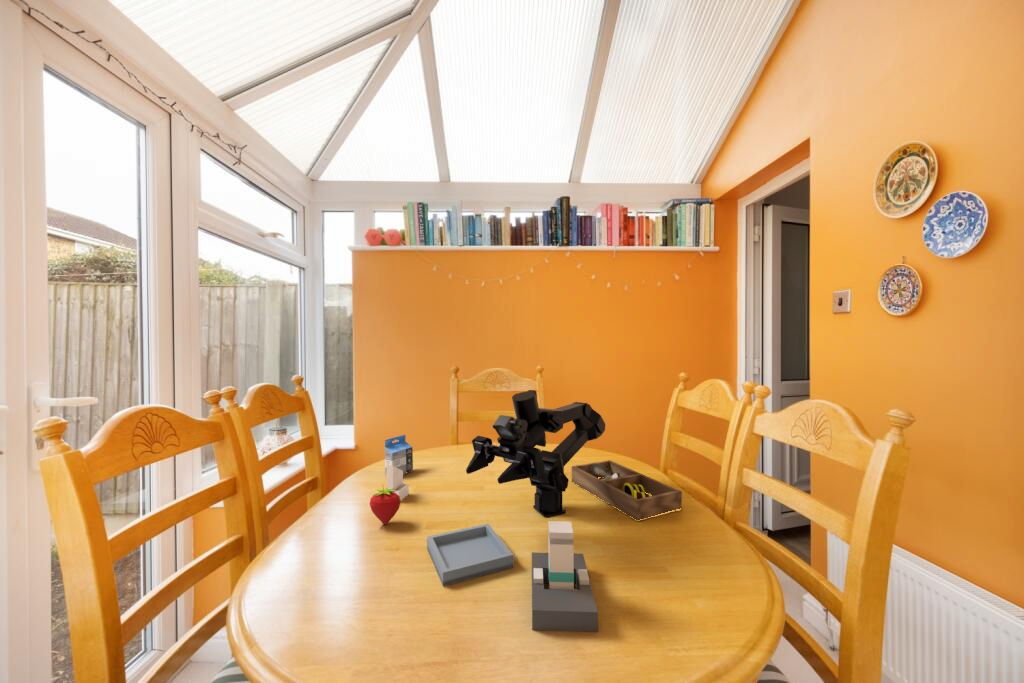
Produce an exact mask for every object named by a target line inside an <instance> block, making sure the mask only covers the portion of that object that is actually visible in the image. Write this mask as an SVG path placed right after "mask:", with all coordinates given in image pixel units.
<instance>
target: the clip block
mask: <svg viewBox="0 0 1024 683" xmlns="http://www.w3.org/2000/svg"><path fill="white" fill-rule="evenodd" d="M548 558H549V552H534V551H533V552H531V623H532V625H531V626H532V627H531V630H533V631H556V632H557V631H558V632H559V631H561V632H589V633H598V632H599V611H598V606H597V604H596V599H595V595H594V591H593V587H592V582H591V580H590V576H589V571H588V569H587V568H588V567H587V564H586V560H585V555H584V553H574V552H573V559H574V586H575V587H576V590H575V589H574V590H550V589H549V588H548V589H547V588H546V589H545V585H547V586H549V570H548Z"/></svg>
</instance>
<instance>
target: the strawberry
mask: <svg viewBox="0 0 1024 683" xmlns="http://www.w3.org/2000/svg"><path fill="white" fill-rule="evenodd" d="M382 486H384V484H382ZM392 490H394V489H388V488H387V487H386V488H384V487H382V489H375V491H377V493H374V494H372V496H371V497H370V500H369V506H370V511H371V512H372V514H374V516H375V517H376V518H377V519H378V520H379V521H380V522H381V524H383V525H387V524H389V523H390V521H391V520H392V519H393V518H394V516H395V515H396V514H397V512H398V511H399V509H400V506H401V503H402V501H401V500H400V496H399V495H397V494H396V493H394V492H396V491H392Z"/></svg>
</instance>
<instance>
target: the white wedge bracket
mask: <svg viewBox="0 0 1024 683" xmlns="http://www.w3.org/2000/svg"><path fill="white" fill-rule="evenodd" d="M409 486H410V483H406V482H405V483H404V474H403V471H402V470H400V469H398V468H396V467H394V466H388V465H387V477H386V488H388V489H394V490H392V491H396V492H394V493H396V494H397V495H399V496H400V500H402V499H403V498H404V497H405V496H406V497H408V496H409V495H408V494H409V492H410V491H409V490H410V488H409ZM406 497H405V498H406ZM405 498H404V499H405ZM404 499H403V500H404ZM403 500H402V501H403Z"/></svg>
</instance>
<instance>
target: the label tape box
mask: <svg viewBox="0 0 1024 683" xmlns="http://www.w3.org/2000/svg"><path fill="white" fill-rule="evenodd" d="M406 436H407V434H402V435H398V436H395V437H390V438H386V439H384V468H385V469H384V470H385V471H384V472H385V473H384V476H385V475H387V465H388V466H394V467H396V468H398V469H400V470H402V471H403V473H406V472H409V471H411V472H413V471H414V468H413V467H414V461H413V460H414V457H413V446H412V445H410V443H408V442H407V441H406ZM412 470H413V471H412ZM409 473H410V472H409ZM406 474H407V473H406Z"/></svg>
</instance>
